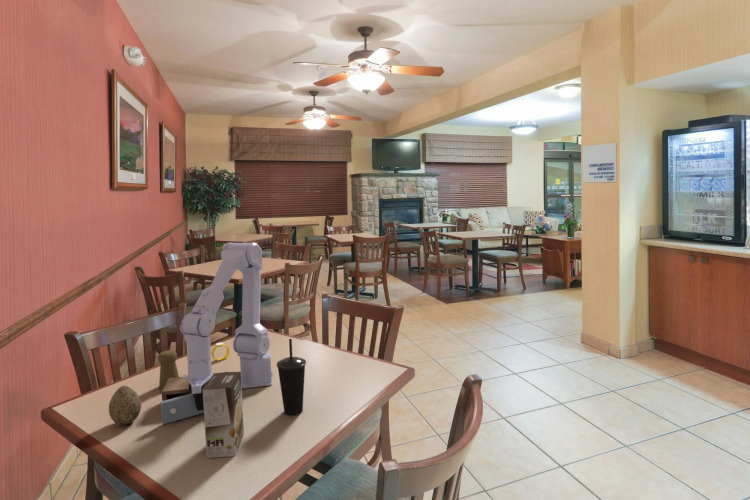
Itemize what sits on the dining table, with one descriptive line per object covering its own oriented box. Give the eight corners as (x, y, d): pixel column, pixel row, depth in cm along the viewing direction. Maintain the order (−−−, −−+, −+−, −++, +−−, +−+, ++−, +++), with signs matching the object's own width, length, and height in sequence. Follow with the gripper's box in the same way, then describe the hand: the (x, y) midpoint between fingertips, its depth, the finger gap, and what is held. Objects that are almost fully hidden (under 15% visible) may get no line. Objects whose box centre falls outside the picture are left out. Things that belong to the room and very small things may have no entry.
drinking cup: (283, 421, 109) (279, 346, 106) (275, 408, 115) (272, 337, 113) (311, 414, 112) (309, 340, 110) (302, 402, 119) (299, 333, 116)
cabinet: (228, 391, 127) (227, 371, 126) (225, 405, 118) (224, 384, 117) (170, 398, 123) (169, 378, 122) (163, 413, 114) (161, 391, 113)
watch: (214, 363, 150) (212, 347, 149) (211, 361, 152) (209, 345, 151) (231, 357, 154) (228, 342, 152) (227, 355, 156) (225, 340, 155)
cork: (172, 391, 127) (169, 355, 126) (154, 389, 129) (151, 354, 127) (184, 382, 133) (182, 348, 132) (167, 381, 135) (165, 347, 133)
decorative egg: (145, 423, 109) (142, 386, 108) (113, 433, 104) (109, 395, 103) (138, 413, 114) (135, 377, 113) (107, 422, 110) (104, 385, 108)
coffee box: (235, 456, 94) (231, 387, 92) (206, 458, 93) (201, 389, 92) (244, 434, 103) (241, 370, 101) (217, 435, 103) (213, 372, 101)
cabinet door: (227, 403, 118) (226, 384, 117) (230, 407, 116) (229, 387, 115) (162, 422, 108) (160, 401, 108) (164, 426, 106) (162, 405, 106)
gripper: (187, 351, 116) (190, 398, 117) (177, 370, 102) (180, 424, 103) (215, 348, 118) (217, 395, 119) (208, 367, 104) (210, 420, 105)
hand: (202, 408), depth 111 cm, fingers closed, pressing on cabinet door
